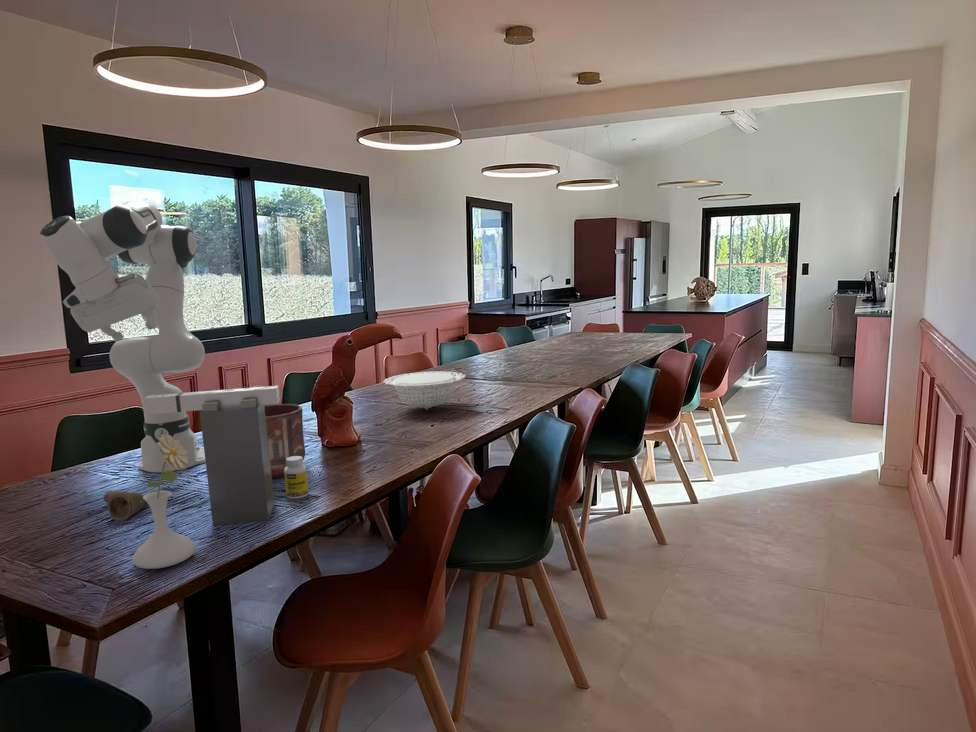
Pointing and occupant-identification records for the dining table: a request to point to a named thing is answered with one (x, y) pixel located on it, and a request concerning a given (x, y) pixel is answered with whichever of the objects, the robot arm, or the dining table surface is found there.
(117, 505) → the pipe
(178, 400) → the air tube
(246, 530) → the dining table surface
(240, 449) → the block
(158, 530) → the flower in vase
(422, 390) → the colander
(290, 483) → the supplement bottle
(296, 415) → the pottery
